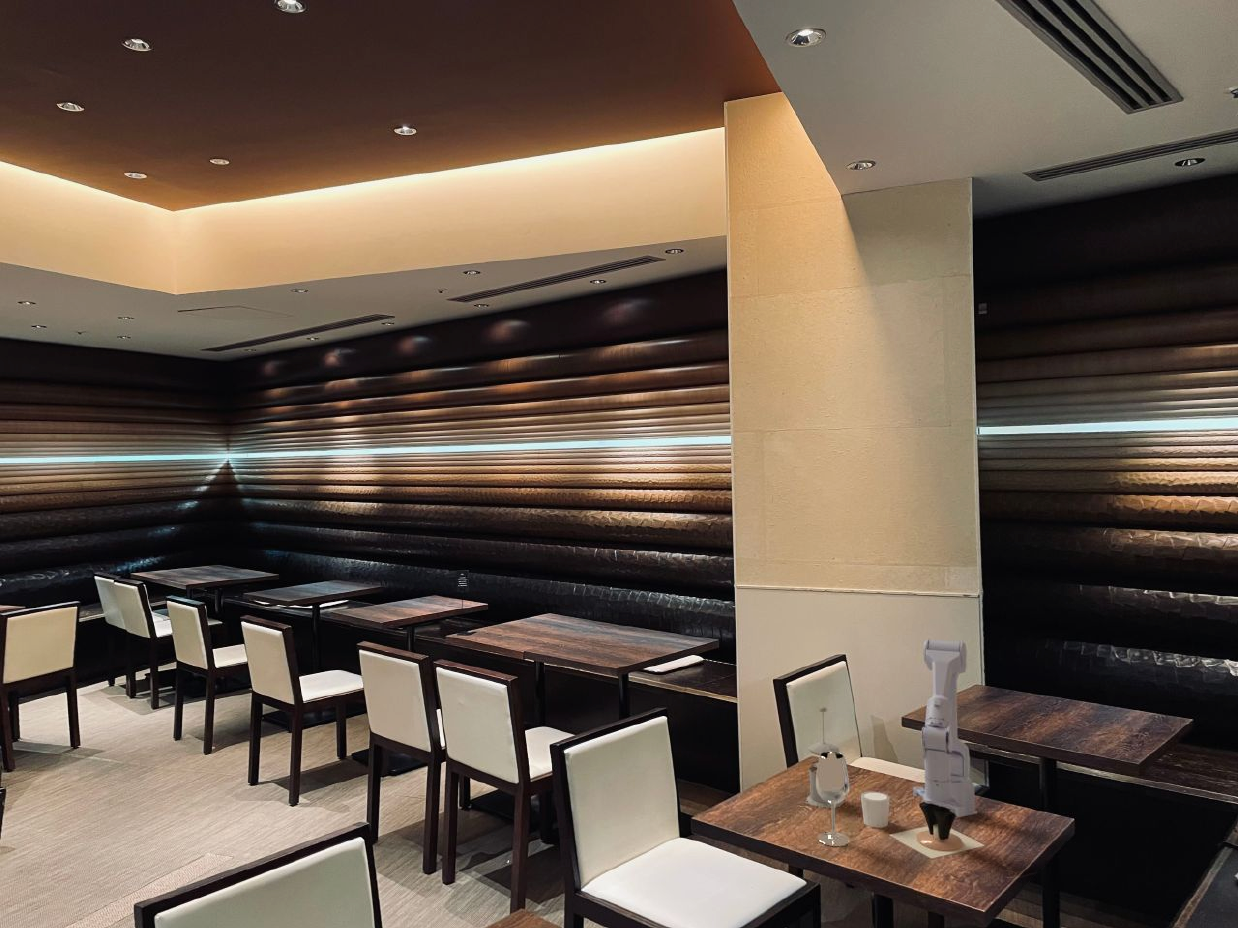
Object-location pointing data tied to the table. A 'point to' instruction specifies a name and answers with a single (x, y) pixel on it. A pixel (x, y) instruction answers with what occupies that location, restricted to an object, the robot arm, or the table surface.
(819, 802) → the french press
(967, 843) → the mat
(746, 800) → the table surface
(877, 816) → the white tapered pot
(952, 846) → the lid
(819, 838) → the wineglass
